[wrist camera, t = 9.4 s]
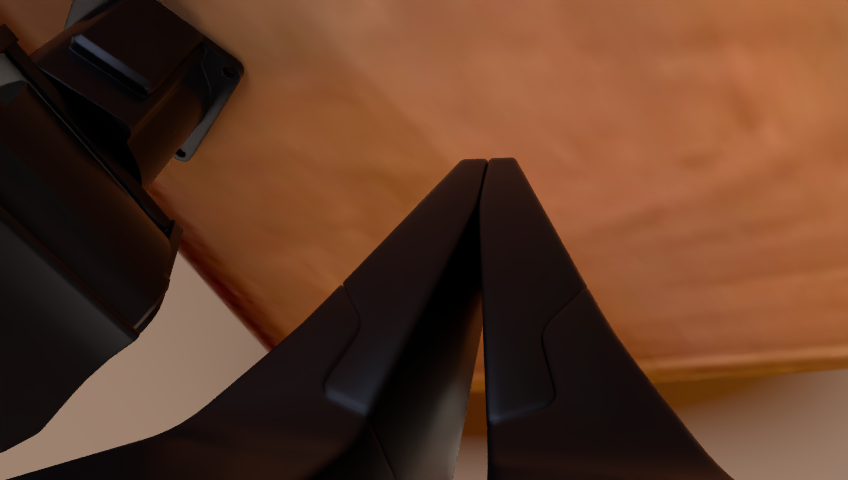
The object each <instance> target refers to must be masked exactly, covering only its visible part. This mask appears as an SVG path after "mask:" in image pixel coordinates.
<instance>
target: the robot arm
mask: <svg viewBox="0 0 848 480" xmlns="http://www.w3.org/2000/svg"><path fill="white" fill-rule="evenodd" d="M18 40H19V39H18V38H17V37H16V36H15V35H14V33H13V32H12V31H11V30H10V29H9V28H8V26H7V25H6V24H2V25H0V453H1V452H4V451H6V450H8V449H10V448H11V447H14V446H15V445H17V444H19V443H21V442H23V441H25V440H27V439H28V438H31V437H32V436H34V435H36V434H37V433H39V432H40V431H41V430H42V429H43V428H44V427H45V426H46V424H47V423H48V422H49V421H50V420H51V419H52V418H53V416H54V415H55V414H56V413H57V412H58V411H59V409H60V408H61V407H62V406H63V405H64V403H65V402H66V401H67V400H68V399H69V398H70V397H71V396H72V394H73V393H74V392H75V391H76V390H77V389H78V388H79V387H80V386H81V385H82V384H83V383H84V382H85V381H86V380H87V379H88V378H89V377H90V376H91V375H92V374H93V373H94V372H95V371H96V370H98V369H99V368H100V367H101V366H102V365H103V364H104V363H106V362H107V361H108V360H109V359H110V358H112V357H113V356H114V355H116V354H117V353H118V352H120V351H121V350H123V349H124V348H126V347H127V346H128V345H130V344H131V343H133V342H134V341H135V340H136V339H137V338H138V337H139V335H140V333H141V332H142V331H143V330H144V329H145V328H146V327H147V326H148V324H149V323H150V322H151V321H152V320H153V318H154V317H155V315H156V314H157V312H158V310H159V309H160V306H161V304H162V302H163V299H164V296H165V293H166V291H167V290H168V287H169V282H170V279H169V278H170V275H171V272H172V268H173V265H174V261H175V258H176V254H177V251H178V247H179V244H180V241H181V237H182V234H183V229H182V228H181V227H180V226H179V225H178V224H177V223H176V221H175V220H170V218H169V217H168V216H167V215H166V214H165V213H164V212H163V210H162V209H161V208H160V207H159V206H158V205H157V203H156V202H155V201H154V200H153V199H152V198H151V197H150V195H149V194H148V193H147V192H146V191H145V190H146V189H147V188H148V187H149V185H150V184H151V183H152V182H153V180H154V179H155V178H156V177H157V175H158V174H159V173H160V172H161V170H162V169H163V168H164V167H165V166H166V164H167V163H168V162H169V161H170V159H171V158H172V157H174V158H176V159H177V160H180V161H184V162H185V161H189V160H190V159H191V157H192V156H193V155H194V153H195V152H196V150H197V149H198V147H199V145H200V144H201V142H202V141H203V139H204V137H205V136H206V134H207V133H208V131H209V129H210V128H211V126H212V125H213V123H214V121H215V120H216V118H217V117H218V115H219V113H220V112H221V110H222V109H223V107H224V105H225V104H226V102H227V101H228V99H229V97H230V96H231V94H232V93H233V91H234V89H235V88H236V86H237V85H238V83H239V81H240V80H241V78H242V77H243V74H244V68H243V66H242V64H241V63H240V62H239V61H238V60H237V59H236V58H234V57H233V56H232V55H230V54H229V53H228V52H226V51H225V50H223V49H222V48H221V47H219V46H218V45H217V44H215V43H214V42H212V41H211V40H210V39H208V38H207V37H206V36H204V35H203V34H201V33H200V32H199V31H198V30H196V29H195V28H194V27H192V26H191V25H190V24H188V23H187V22H185V21H184V20H183V19H181V18H180V17H179V16H177V15H176V14H174V13H173V12H172V11H170V10H169V9H168V8H166V7H165V6H163V5H162V4H161V3H159V2H158V1H156V0H73V2H72V5H71V9H70V12H69V15H68V18H67V21H66V24H65V28H64V31H63V32H61V33H60V34H58V35H57V36H56V37H54V38H53V39H51V40H50V41H49V42H47V43H46V44H44V45H43V46H42V47H40V48H39V49H37V50H36V51H34V52H33V53H32V54H30V55H29V56H28V55H27V53H26V52H25V51H24V50H23V49H22V48H21V47H20V45H19V44H18V43H17V41H18ZM226 67H229V68H231V69H232V70H233V71H234V74H232V73H230V72H229V71H228V70H227V68H226ZM181 149H182V150H183V151H185V152H183V151H182V150H181ZM482 326H483V343H484V368H485V393H486V417H487V428H488V429H487V443H488V475H487V480H734V479H733V478H732V477H730V476H729V475H728V474H727V473H726V472H725V471H724V470H723V469H722V468H721V467H720V466H719V465H718V464H717V463H716V462H715V461H714V460H713V459H712V458H711V457H710V456H709V455H708V454H707V452H706V451H705V450H704V449H703V448H702V446H701V445H700V444H699V443H698V441H697V440H696V439H695V438H694V436H693V435H692V434H691V433H690V431H689V430H688V429H687V427H686V426H685V425H684V424H683V422H682V421H681V420H680V418H679V417H678V416H677V415H676V413H675V412H674V411H673V409H672V408H671V407H670V406H669V405H668V403H667V402H666V401H665V399H664V398H663V397H662V395H661V394H660V393H659V392H658V390H657V389H656V388H655V386H654V385H653V384H652V383H651V381H650V380H649V379H648V377H647V376H646V375H645V374H644V372H643V371H642V370H641V368H640V367H639V366H638V365H637V363H636V362H635V360H634V359H633V358H632V356H631V355H630V354H629V352H628V351H627V349H626V348H625V347H624V345H623V344H622V343H621V341H620V340H619V338H618V337H617V336H616V334H615V333H614V331H613V329H612V328H611V326H610V324H609V323H608V321H607V320H606V318H605V316H604V315H603V313H602V311H601V310H600V308H599V306H598V305H597V303H596V301H595V299H594V298H593V296H592V294H591V292H590V291H589V290H588V289H587V286H586V284H585V282H584V280H583V278H582V277H581V275H580V273H579V271H578V270H577V268H576V266H575V264H574V262H573V261H572V259H571V257H570V255H569V253H568V252H567V250H566V248H565V246H564V245H563V243H562V241H561V239H560V237H559V236H558V234H557V232H556V230H555V228H554V227H553V225H552V223H551V221H550V219H549V218H548V216H547V214H546V212H545V211H544V209H543V207H542V205H541V203H540V202H539V200H538V198H537V196H536V194H535V193H534V191H533V189H532V187H531V186H530V184H529V182H528V180H527V178H526V177H525V175H524V173H523V171H522V169H521V168H520V166H519V164H518V162H517V161H516V159H514V158H492V159H490V160H489V161H487V160H486V159H464V160H462V161H460V162H459V163H458V164H457V165H456V166H455V167H454V168H453V169H452V170H451V171H450V172H449V173H448V174H447V175H446V177H445V178H444V179H443V180H442V181H441V182H440V183H439V184H438V185H437V186H436V187H435V188H434V189H433V190H432V191H431V192H430V193H429V194H428V195H427V196H426V197H425V198H424V199H423V200H422V201H421V202H420V203H419V204H418V206H417V207H416V208H415V209H414V210H413V211H412V212H411V213H410V214H409V215H408V216H407V217H406V218H405V219H404V220H403V221H402V222H401V223H400V224H399V225H398V226H397V227H396V228H395V229H394V230H393V231H392V232H391V233H390V234H389V236H388V237H387V238H386V239H385V240H384V241H383V242H382V243H381V244H380V245H379V246H378V247H377V248H376V249H375V250H374V251H373V252H372V253H371V254H370V255H369V256H368V257H367V258H366V259H365V260H364V261H363V262H362V263H361V264H360V266H359V267H358V268H357V269H356V270H355V271H354V272H353V273H352V274H351V275H350V276H349V277H348V278H347V279H346V280H345V281H344V282H343V286H342V285H341V286H339V287H338V288H337V289H336V290H335V291H334V292H333V293H332V294H331V295H330V296H329V297H328V298H327V299H326V300H325V301H324V302H323V303H322V304H321V305H320V306H319V307H318V308H317V309H316V310H315V311H314V312H313V313H312V314H311V315H310V316H309V317H308V318H307V319H306V320H305V321H304V322H303V323H302V324H301V325H300V326H299V327H297V328H296V329H295V330H294V331H293V332H292V333H291V334H290V335H288V336H287V337H286V338H285V339H284V340H283V341H282V342H281V343H279V344H278V345H277V346H276V347H275V348H274V349H273V350H271V351H270V352H269V353H268V354H267V355H265V356H264V357H263V358H262V359H261V360H260V361H259V362H257V363H256V364H255V365H254V366H252V367H251V368H250V369H249V370H248V371H247V372H245V373H244V374H243V375H242V376H241V377H240V378H238V379H237V380H236V381H235V382H234V383H232V384H231V385H230V386H229V387H228V388H226V390H224V391H223V392H222V393H221V394H219V395H218V396H217V397H216V398H215V399H213V400H212V401H211V402H210V403H209V404H208V405H206V406H205V407H204V408H202V409H201V410H200V411H199V412H197V413H196V414H195V415H193V416H192V417H190V418H189V419H187V420H186V421H184V422H183V423H181V424H179V425H177V426H175V427H173V428H172V429H170V430H168V431H165V432H163V433H160V434H158V435H155V436H153V437H150V438H147V439H144V440H140V441H137V442H133V443H130V444H127V445H123V446H119V447H116V448H113V449H109V450H106V451H102V452H99V453H95V454H92V455H89V456H86V457H82V458H78V459H75V460H71V461H69V462H65V463H61V464H58V465H54V466H51V467H48V468H44V469H41V470H37V471H34V472H30V473H27V474H24V475H21V476H17V477H14V478H10V479H7V480H453V478H454V472H455V467H456V462H457V457H458V451H459V446H460V441H461V436H462V431H463V425H464V420H465V414H466V410H467V404H468V399H469V394H470V389H471V383H472V378H473V373H474V368H475V362H476V357H477V352H478V347H479V342H480V336H481V331H482Z"/></svg>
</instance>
